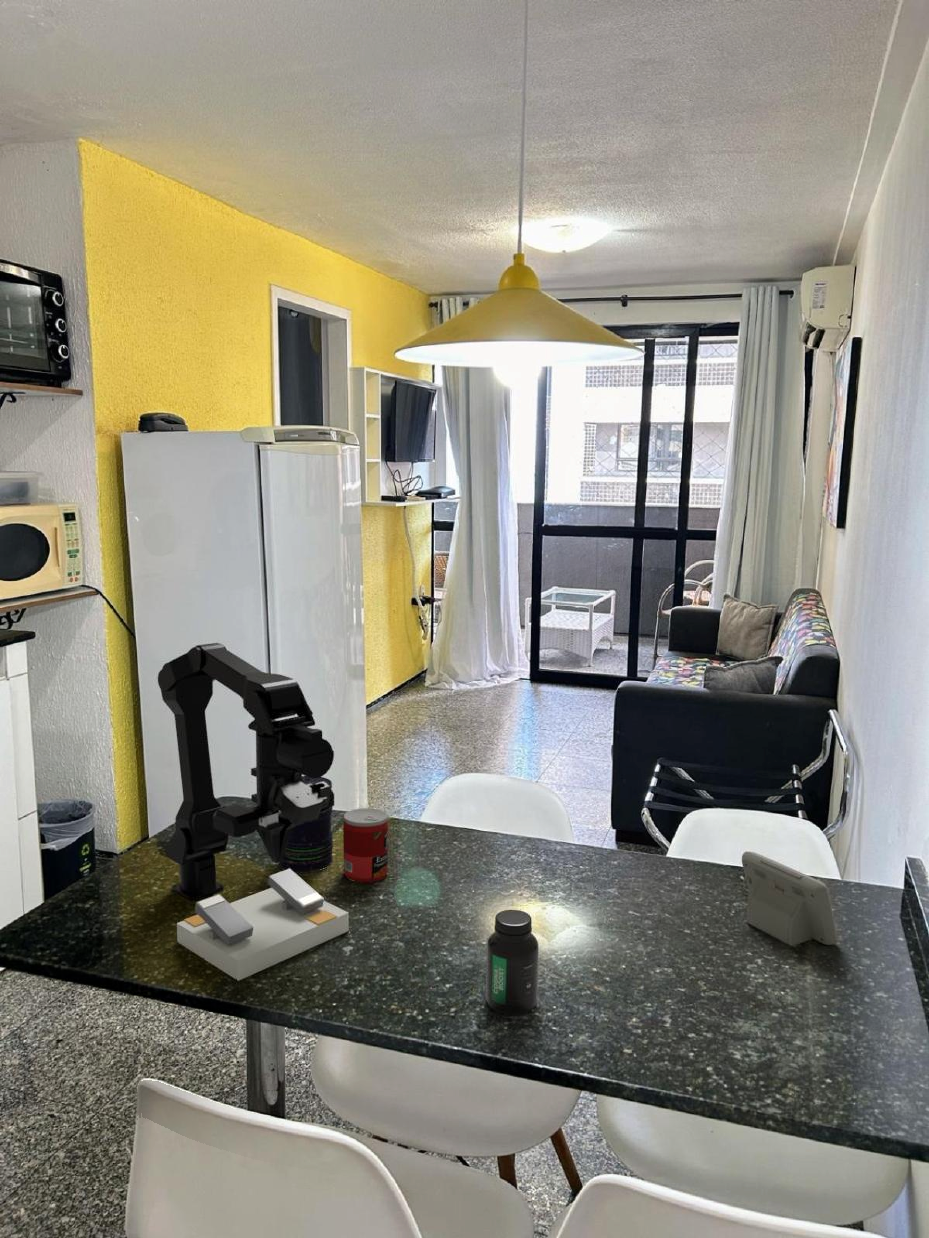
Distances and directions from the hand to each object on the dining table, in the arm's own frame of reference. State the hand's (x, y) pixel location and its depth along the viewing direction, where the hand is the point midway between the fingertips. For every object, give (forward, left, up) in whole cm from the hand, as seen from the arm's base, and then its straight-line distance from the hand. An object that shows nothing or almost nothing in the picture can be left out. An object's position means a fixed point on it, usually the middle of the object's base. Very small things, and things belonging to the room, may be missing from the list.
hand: (276, 861), depth 136 cm
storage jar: (-19, +20, -12) cm, 30 cm away
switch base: (-1, -2, -12) cm, 12 cm away
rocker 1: (-1, -9, -6) cm, 11 cm away
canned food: (-7, +24, -12) cm, 28 cm away
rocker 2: (-1, +4, -6) cm, 8 cm away
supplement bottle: (+38, +10, -12) cm, 41 cm away
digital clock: (+56, +56, -12) cm, 81 cm away
